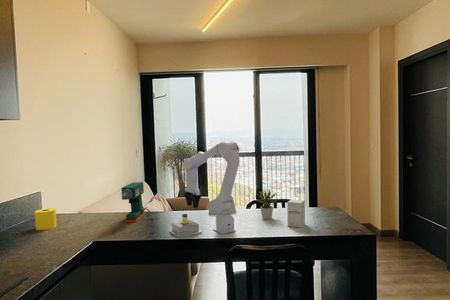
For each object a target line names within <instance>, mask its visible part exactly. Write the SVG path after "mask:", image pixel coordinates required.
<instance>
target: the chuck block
mask: <svg viewBox="0 0 450 300" xmlns="http://www.w3.org/2000/svg"><path fill="white" fill-rule="evenodd" d="M187 222H188V224H185V225H183V220H182V221H177V222H171V228H170V229H169V230H168V231H169V233H170V234H172V235H173V236H175V237H177V238H183V237H184V238H185V237H189V236H193V235H200V234H202V232H203V231H202V230H200V225H199V223H197V222H196V221H193V220H192V219H189V220H188V219H187Z"/></svg>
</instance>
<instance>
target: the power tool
mask: <svg viewBox="0 0 450 300" xmlns="http://www.w3.org/2000/svg"><path fill="white" fill-rule="evenodd" d="M144 189H145V188H144V182H142V181H140V182H131V183H129V184H126V185H124V186H122V187H121V200H122V201H123V200H125V201H126V200H128V204H130V210H131V211H130V212H128V213H127V214H126V215H125V218H126V219H125V220H124V222H125V223H137V222H139V220H140V218H141V219H142V218H143V217H144V216H145V214H146V213H145V211H144V206H143V198H142V195H143V194H144V193H145V190H144Z"/></svg>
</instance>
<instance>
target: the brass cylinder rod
mask: <svg viewBox="0 0 450 300" xmlns="http://www.w3.org/2000/svg"><path fill="white" fill-rule="evenodd" d="M181 216H182V218H181V219H182V221H183V225H185V224H188V222H187V220H188V213H182V215H181Z"/></svg>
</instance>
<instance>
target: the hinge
mask: <svg viewBox="0 0 450 300" xmlns="http://www.w3.org/2000/svg"><path fill="white" fill-rule="evenodd" d="M215 199H216V198H214V199H212V200H210V201H208V214H209V215H210V216H213V215H214V216H215V215H216V214H215V212H214V210H213V208H212V204H213V202H214V201H215ZM236 209H237V208H236V206H235V201H234V199H233V207H232V209H231V212H230V214H237V210H236Z"/></svg>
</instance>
